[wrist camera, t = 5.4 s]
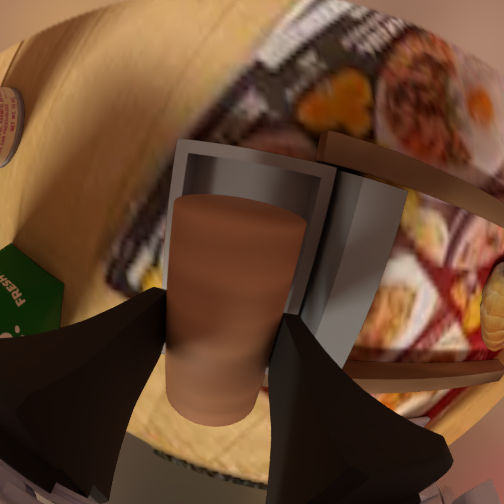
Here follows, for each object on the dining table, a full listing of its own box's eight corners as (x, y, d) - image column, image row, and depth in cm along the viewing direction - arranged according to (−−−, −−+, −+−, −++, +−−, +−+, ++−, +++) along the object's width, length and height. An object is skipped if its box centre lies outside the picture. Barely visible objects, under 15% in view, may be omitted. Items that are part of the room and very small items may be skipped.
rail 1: (546, 252, 14) (559, 259, 12) (315, 160, 14) (322, 161, 12) (551, 238, 14) (563, 244, 12) (320, 133, 13) (328, 130, 11)
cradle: (276, 350, 18) (277, 375, 16) (172, 330, 18) (161, 353, 16) (325, 165, 14) (336, 167, 12) (191, 140, 14) (177, 138, 11)
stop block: (310, 353, 18) (319, 408, 13) (282, 350, 18) (285, 406, 13) (365, 178, 14) (407, 191, 9) (331, 169, 14) (363, 177, 9)
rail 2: (491, 369, 19) (499, 380, 17) (262, 366, 19) (262, 385, 17) (498, 359, 19) (506, 369, 17) (267, 350, 18) (266, 370, 16)
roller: (257, 368, 13) (253, 433, 9) (178, 352, 13) (154, 413, 9) (299, 209, 10) (317, 242, 6) (193, 189, 10) (152, 211, 6)
